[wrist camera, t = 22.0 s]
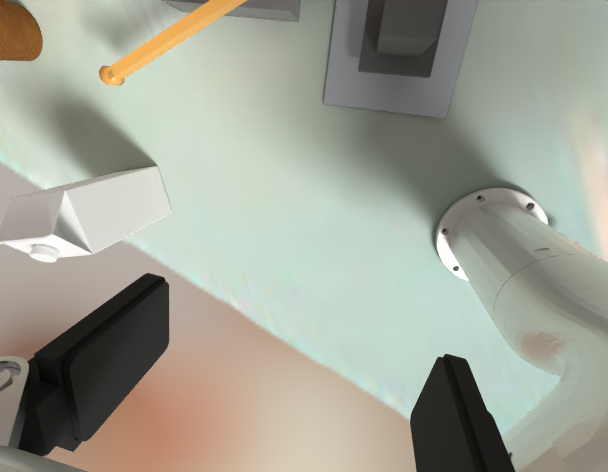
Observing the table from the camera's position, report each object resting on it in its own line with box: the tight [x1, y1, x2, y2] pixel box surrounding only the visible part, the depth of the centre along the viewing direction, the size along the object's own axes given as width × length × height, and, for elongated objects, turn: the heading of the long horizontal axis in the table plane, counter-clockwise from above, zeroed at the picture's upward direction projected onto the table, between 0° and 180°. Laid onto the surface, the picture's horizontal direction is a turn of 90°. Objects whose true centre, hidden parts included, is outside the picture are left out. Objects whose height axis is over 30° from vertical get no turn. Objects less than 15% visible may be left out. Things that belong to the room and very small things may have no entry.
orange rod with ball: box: [99, 0, 247, 86], centre depth 30 cm, size 26×3×2 cm, turn 113°
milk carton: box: [0, 166, 172, 262], centre depth 37 cm, size 7×7×19 cm
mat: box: [323, 0, 478, 119], centre depth 33 cm, size 14×14×1 cm
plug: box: [358, 0, 448, 78], centre depth 27 cm, size 7×7×12 cm
